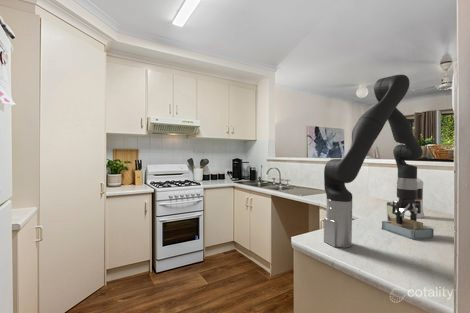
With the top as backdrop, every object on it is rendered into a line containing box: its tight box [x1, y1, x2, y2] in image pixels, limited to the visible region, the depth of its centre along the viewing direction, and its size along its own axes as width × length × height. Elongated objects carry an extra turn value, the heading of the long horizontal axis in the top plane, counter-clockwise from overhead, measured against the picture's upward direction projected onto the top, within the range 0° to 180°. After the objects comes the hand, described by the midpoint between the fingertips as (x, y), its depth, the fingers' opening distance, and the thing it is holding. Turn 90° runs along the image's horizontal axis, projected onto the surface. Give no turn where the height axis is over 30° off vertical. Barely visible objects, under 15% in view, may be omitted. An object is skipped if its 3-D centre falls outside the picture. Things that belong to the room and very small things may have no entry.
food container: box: [386, 201, 405, 221], centre depth 118 cm, size 12×6×10 cm, turn 168°
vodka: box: [404, 165, 425, 219], centre depth 133 cm, size 9×9×30 cm
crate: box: [381, 220, 435, 241], centre depth 102 cm, size 12×15×4 cm
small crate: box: [391, 217, 424, 230], centre depth 102 cm, size 6×10×5 cm, turn 16°
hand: (406, 223), depth 102 cm, fingers open, 8 cm apart
